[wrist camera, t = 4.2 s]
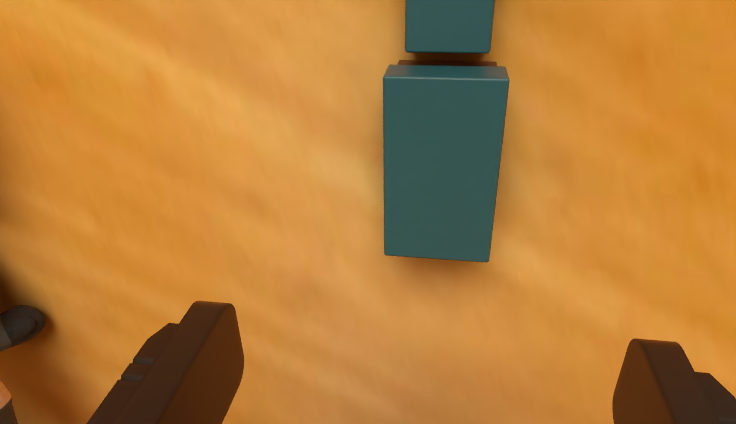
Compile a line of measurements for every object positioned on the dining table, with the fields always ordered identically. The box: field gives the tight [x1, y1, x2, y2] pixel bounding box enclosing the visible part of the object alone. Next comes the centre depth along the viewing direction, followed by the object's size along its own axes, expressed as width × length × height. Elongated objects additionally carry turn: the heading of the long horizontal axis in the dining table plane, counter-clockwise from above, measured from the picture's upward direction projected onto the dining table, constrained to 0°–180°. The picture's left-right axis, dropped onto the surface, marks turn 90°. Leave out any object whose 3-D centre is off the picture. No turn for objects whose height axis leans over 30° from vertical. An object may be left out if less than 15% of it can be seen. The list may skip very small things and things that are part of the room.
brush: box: [383, 0, 509, 262], centre depth 17 cm, size 18×4×3 cm, turn 1°
